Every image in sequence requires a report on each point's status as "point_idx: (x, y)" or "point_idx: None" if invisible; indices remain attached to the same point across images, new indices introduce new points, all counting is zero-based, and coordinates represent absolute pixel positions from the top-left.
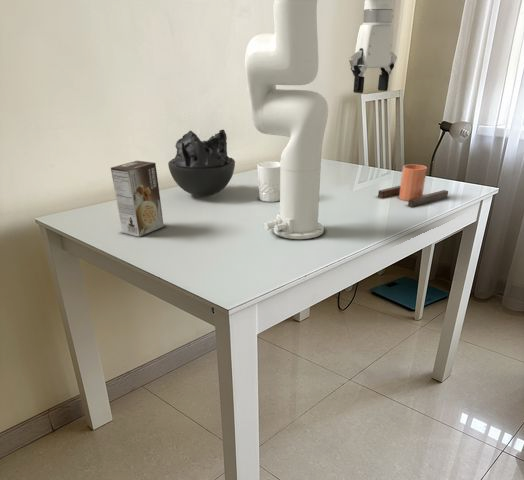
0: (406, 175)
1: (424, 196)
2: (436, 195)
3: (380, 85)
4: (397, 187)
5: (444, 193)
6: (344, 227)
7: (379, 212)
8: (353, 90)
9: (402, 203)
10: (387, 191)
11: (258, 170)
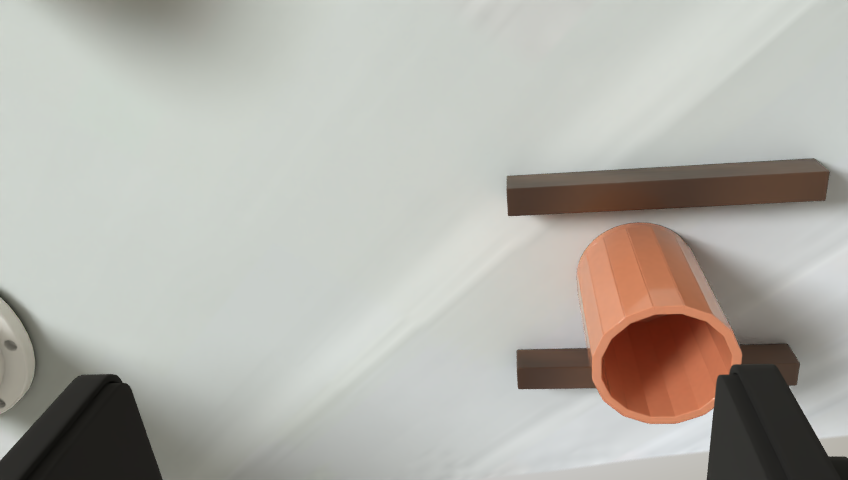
0: (588, 346)
1: None
2: None
3: (738, 474)
4: (644, 202)
5: None
6: None
7: (344, 343)
8: (69, 385)
9: (527, 312)
10: (549, 211)
11: None
